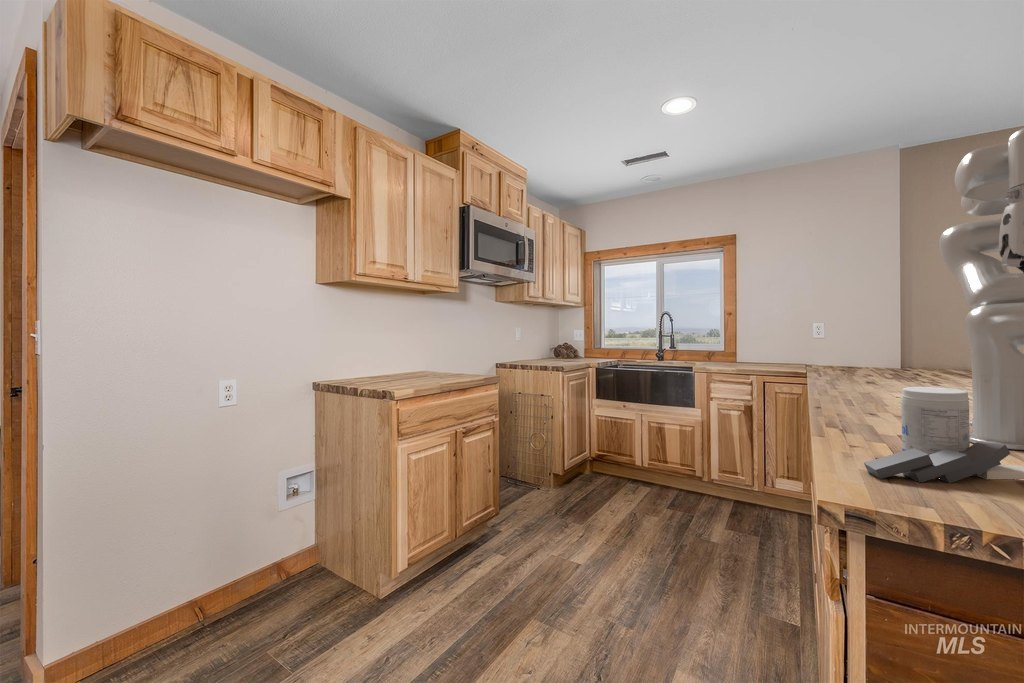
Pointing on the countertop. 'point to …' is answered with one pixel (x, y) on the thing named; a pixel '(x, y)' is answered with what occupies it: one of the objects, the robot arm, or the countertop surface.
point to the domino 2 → (940, 465)
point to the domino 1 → (898, 463)
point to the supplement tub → (935, 419)
